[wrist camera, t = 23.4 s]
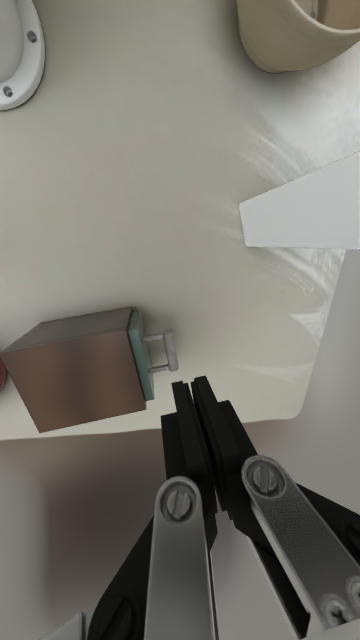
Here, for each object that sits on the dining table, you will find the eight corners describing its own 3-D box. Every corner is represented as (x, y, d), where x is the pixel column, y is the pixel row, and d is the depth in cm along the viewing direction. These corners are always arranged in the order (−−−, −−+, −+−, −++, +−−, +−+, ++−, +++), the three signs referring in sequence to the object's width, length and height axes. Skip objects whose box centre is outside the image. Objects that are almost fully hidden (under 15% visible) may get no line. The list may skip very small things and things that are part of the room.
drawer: (166, 305, 33) (171, 323, 25) (176, 363, 36) (183, 393, 29) (55, 325, 31) (27, 350, 24) (77, 383, 35) (59, 420, 28)
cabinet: (131, 306, 33) (125, 329, 24) (146, 369, 37) (146, 409, 28) (40, 322, 32) (-2, 353, 23) (66, 386, 36) (39, 433, 27)
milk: (281, 234, 32) (512, 222, 12) (244, 246, 32) (415, 255, 12) (277, 190, 30) (552, 82, 10) (237, 203, 30) (432, 119, 10)
